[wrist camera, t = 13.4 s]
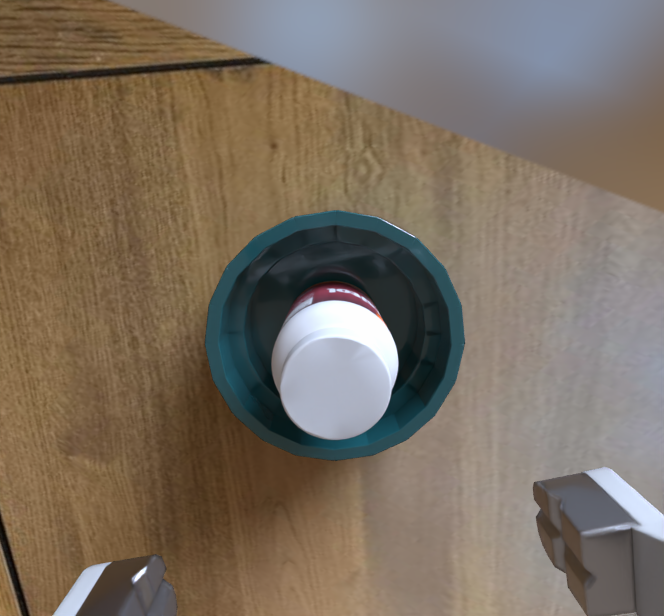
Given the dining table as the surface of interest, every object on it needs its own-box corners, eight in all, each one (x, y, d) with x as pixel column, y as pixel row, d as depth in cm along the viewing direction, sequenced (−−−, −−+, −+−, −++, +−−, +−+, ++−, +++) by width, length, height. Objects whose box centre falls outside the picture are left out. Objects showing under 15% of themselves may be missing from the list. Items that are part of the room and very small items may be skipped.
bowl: (186, 275, 28) (156, 287, 23) (385, 172, 27) (398, 162, 22) (289, 452, 31) (282, 497, 26) (473, 366, 29) (502, 396, 24)
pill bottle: (398, 320, 28) (443, 384, 17) (337, 385, 29) (343, 485, 18) (328, 258, 27) (329, 285, 16) (267, 328, 28) (230, 397, 17)
